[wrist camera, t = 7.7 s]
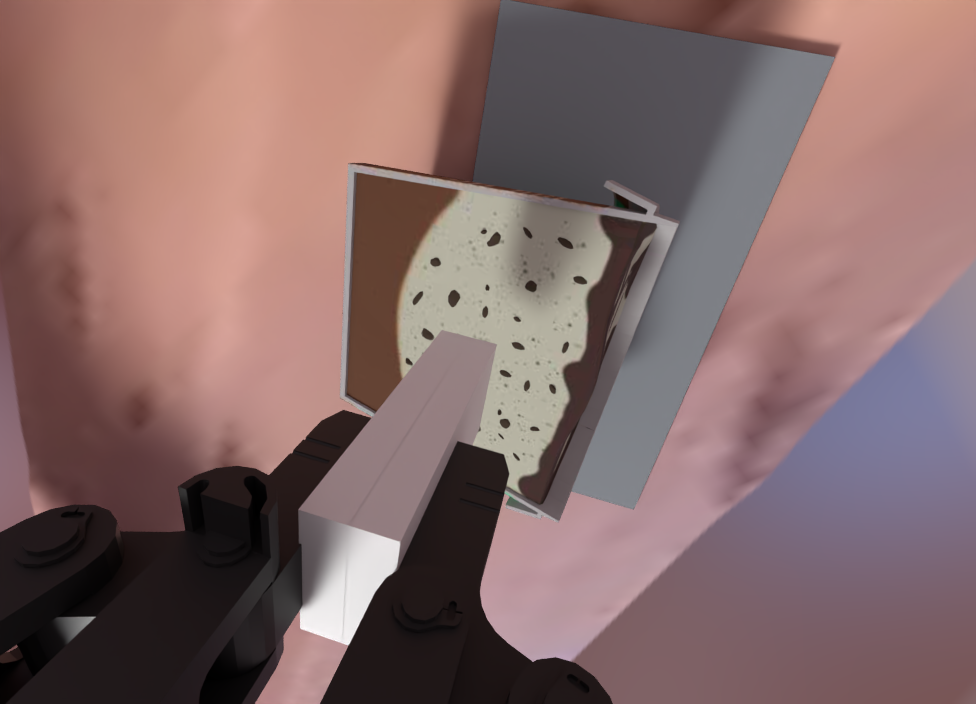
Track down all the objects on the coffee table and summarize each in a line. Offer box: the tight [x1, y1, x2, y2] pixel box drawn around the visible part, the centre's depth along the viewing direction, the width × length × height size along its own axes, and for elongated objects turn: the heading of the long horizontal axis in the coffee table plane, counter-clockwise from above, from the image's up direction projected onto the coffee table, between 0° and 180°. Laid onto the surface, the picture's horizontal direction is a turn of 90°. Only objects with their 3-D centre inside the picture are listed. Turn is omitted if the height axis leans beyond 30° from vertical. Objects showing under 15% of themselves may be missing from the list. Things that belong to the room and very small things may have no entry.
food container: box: [340, 163, 680, 522], centre depth 18 cm, size 12×6×10 cm
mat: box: [473, 0, 835, 510], centre depth 20 cm, size 11×20×1 cm, turn 170°
